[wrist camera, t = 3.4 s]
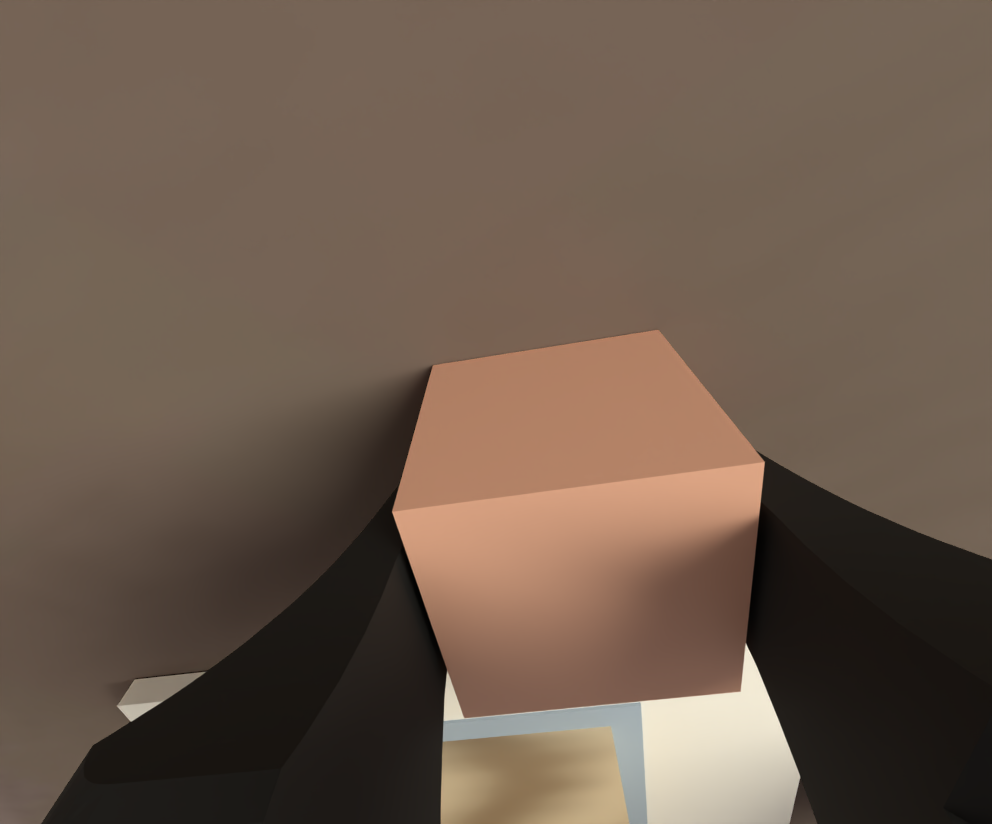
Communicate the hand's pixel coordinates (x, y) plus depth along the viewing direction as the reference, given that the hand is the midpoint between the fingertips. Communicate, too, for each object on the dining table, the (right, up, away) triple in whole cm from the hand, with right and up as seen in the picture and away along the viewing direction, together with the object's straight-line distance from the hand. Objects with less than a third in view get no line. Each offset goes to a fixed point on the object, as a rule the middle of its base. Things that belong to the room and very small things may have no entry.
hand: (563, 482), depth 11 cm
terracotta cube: (0, +1, +1) cm, 2 cm away
